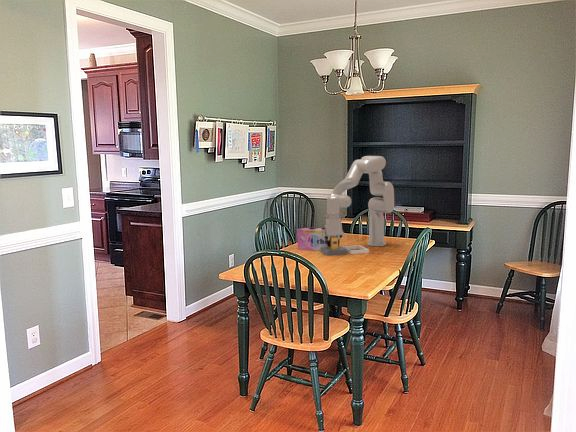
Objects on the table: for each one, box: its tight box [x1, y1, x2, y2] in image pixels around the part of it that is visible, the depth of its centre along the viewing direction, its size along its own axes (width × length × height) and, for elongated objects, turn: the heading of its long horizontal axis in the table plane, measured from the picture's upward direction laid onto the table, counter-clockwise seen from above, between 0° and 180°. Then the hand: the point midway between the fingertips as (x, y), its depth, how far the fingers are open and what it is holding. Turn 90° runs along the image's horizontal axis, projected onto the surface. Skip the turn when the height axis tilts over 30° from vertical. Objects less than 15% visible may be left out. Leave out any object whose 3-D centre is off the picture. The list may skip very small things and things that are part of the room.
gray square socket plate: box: [320, 245, 347, 257], centre depth 308 cm, size 12×12×4 cm
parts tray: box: [341, 244, 370, 255], centre depth 313 cm, size 14×12×3 cm
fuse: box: [328, 236, 338, 250], centre depth 307 cm, size 4×6×10 cm, turn 16°
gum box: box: [296, 226, 328, 252], centre depth 319 cm, size 24×8×14 cm, turn 68°
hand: (333, 245), depth 307 cm, fingers open, 4 cm apart
